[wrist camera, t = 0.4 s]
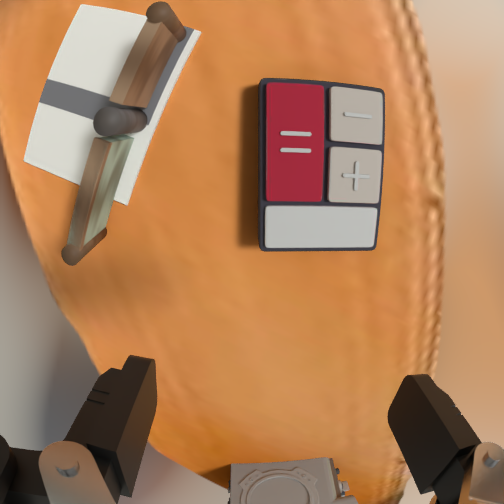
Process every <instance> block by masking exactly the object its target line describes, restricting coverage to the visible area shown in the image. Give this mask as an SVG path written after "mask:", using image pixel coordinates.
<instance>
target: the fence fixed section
mask: <svg viewBox="0 0 504 504" xmlns="http://www.w3.org/2000/svg"><path fill="white" fill-rule="evenodd" d="M146 16H147V20H146V22H145V24H144V26H143V28H142V29H141V31H140V33H139V35H138V37H137V39H136V41H135V43H134V45H133V47H132V49H131V51H130V53H129V55H128V57H127V60H126V62H125V64H124V66H123V68H122V71H121V73H120V75H119V77H118V80H117V82H116V84H115V87H114V89H113V92H112V94H111V96H110V99H109V101H112V102H115V103H118V104H121V105H128V106H136V107H144V108H147V106H148V103H149V101H150V99H151V97H152V94H153V92H154V90H155V88H156V85H157V83H158V81H159V79H160V77H161V75H162V72H163V70H164V68H165V66H166V64H167V62H168V60H169V58H170V56H171V54H172V52H173V50H174V48H175V46H176V44H177V43H178V42H181V41H182V40H184V38H185V37H186V30H185V28H184V27H183V25H182V24H181V22H180V21H179V19H178V18H177V16H176V15H175V13H174V12H173V10H172V9H171V7H170V6H169V5H168V4H167V3H166V2H156V3H153V4H152V5H151V6H150V7H149V8H148V9H147V12H146ZM147 121H148V120H147V115H146V114H145V112H143V111H142V110H138V109H128V108H116V107H104V108H102V109H100V110H99V111H98V112H97V113H96V115H95V117H94V120H93V126H94V129H95V131H96V132H97V133H98V134H99V135H101V136H112V135H120V134H128V133H136V132H140V131H142V130H143V129H144V128H145V127H146V125H147Z"/></svg>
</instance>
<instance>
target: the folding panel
mask: <svg viewBox="0 0 504 504" xmlns="http://www.w3.org/2000/svg"><path fill="white" fill-rule="evenodd" d="M133 141H134V138H133V137H130V136H127V135H125V134H120V135H112V136H105V137H95V138H94V140H93V143H92V146H91V149H90V152H89V155H88V158H87V162H86V165H85V169H84V172H83V176H82V179H81V183H80V187H79V191H78V195H77V199H76V203H75V207H74V211H73V216H72V220H71V225H70V230H69V235H68V240H67V245H66V246H65V247H64V248H63V249H62V253H61V254H62V258H63V260H64V261H65V263H67V264H68V265H71V266H73V265H76V264H77V263H78V262H79V261H80V260H81V259H82V258H83V257H84V256H85V255H86V254H87V253H88V252H89V251H90V250H92V249H93V248H94V247H95V246H96V245H97V244H98V243H99V242H100V241H101V240H102V239H103V238H104V237H105V236H106V234H107V229H106V224H107V220H108V217H109V213H110V210H111V206H112V203H113V200H114V196H115V193H116V190H117V187H118V184H119V181H120V178H121V175H122V172H123V169H124V166H125V163H126V160H127V157H128V154H129V152H130V149H131V146H132V143H133Z"/></svg>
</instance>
